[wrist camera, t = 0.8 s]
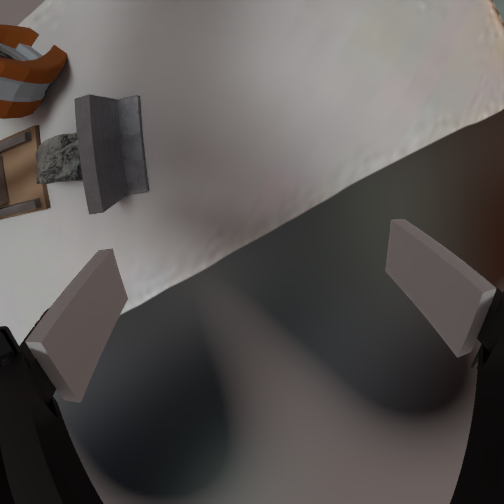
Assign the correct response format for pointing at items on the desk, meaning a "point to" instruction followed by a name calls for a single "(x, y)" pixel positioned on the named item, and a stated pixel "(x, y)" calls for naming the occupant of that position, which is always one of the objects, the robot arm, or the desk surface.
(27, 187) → the brown shallow box
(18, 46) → the alarm clock
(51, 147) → the stone
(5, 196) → the ram
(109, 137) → the angle bracket
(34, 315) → the desk surface
